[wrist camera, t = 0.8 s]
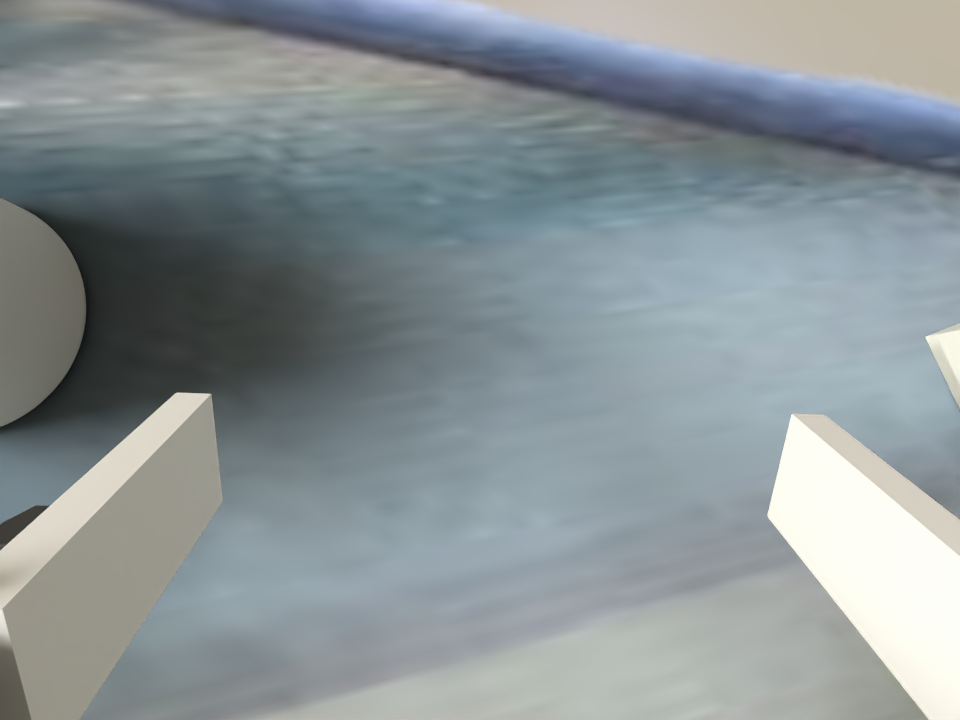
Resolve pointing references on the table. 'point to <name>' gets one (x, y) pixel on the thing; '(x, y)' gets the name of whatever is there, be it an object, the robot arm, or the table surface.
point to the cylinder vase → (35, 311)
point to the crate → (948, 356)
